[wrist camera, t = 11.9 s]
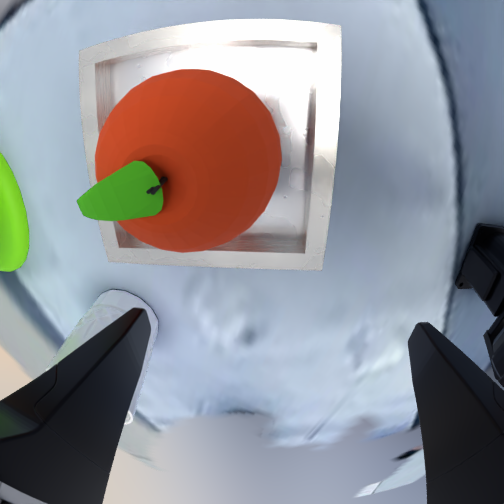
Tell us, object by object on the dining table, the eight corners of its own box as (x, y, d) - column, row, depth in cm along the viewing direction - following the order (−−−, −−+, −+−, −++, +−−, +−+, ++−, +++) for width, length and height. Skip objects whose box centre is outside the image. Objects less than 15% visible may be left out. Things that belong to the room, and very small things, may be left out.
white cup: (81, 304, 25) (35, 377, 17) (118, 269, 22) (60, 358, 14) (136, 350, 28) (106, 427, 20) (181, 326, 25) (152, 420, 17)
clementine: (151, 226, 15) (91, 310, 9) (108, 112, 12) (9, 141, 6) (292, 192, 14) (309, 276, 8) (258, 58, 11) (246, 17, 5)
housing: (319, 45, 13) (341, 25, 8) (309, 224, 19) (321, 270, 15) (127, 57, 14) (79, 50, 9) (142, 221, 20) (108, 262, 15)
